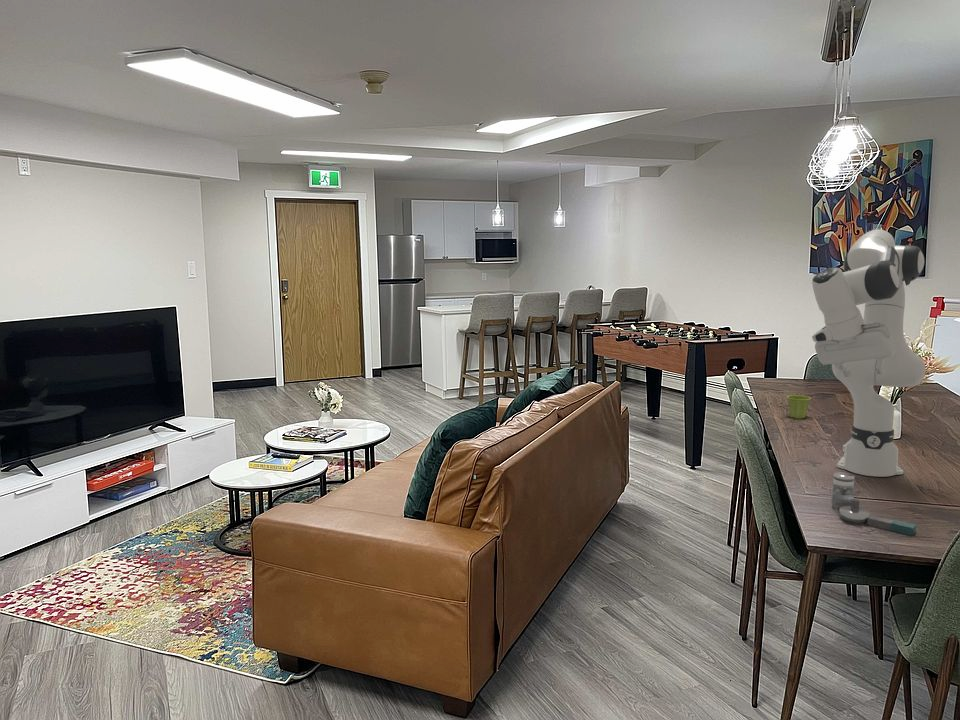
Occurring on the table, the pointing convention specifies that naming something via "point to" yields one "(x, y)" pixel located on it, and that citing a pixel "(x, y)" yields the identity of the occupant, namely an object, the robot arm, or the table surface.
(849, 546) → the table surface
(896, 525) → the ratchet
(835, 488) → the cylinder on square base
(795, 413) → the plant pot
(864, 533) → the table surface
